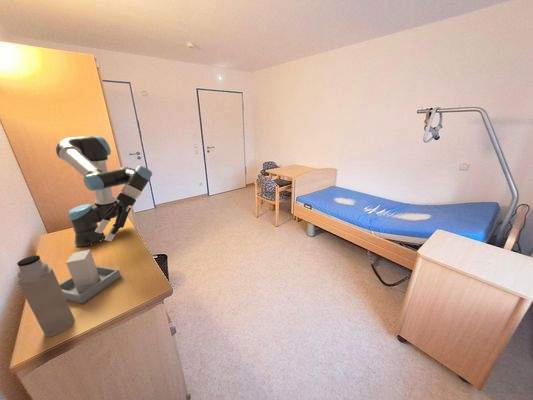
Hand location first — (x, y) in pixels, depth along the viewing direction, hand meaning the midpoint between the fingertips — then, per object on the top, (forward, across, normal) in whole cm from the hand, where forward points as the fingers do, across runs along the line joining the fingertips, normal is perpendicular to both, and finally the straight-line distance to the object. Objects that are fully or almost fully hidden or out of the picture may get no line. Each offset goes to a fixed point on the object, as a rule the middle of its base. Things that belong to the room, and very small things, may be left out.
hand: (102, 236), depth 97 cm
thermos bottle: (+30, -18, +2) cm, 36 cm away
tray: (+22, -1, -6) cm, 23 cm away
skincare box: (+21, -2, -6) cm, 22 cm away
